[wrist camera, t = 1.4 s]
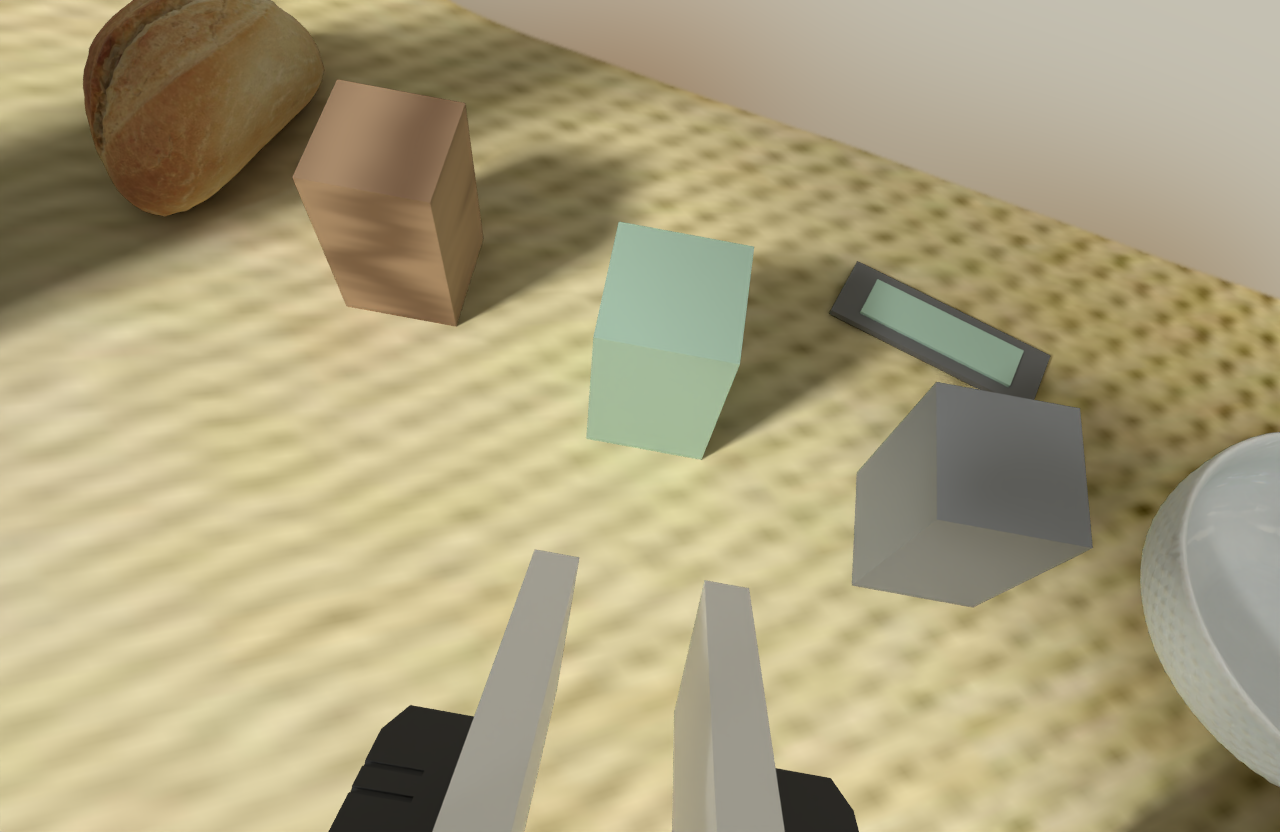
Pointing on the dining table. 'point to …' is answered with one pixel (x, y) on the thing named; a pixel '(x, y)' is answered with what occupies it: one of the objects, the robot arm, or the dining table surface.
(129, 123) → the bread roll
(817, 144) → the dining table surface
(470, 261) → the walnut block
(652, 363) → the sage block
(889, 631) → the dining table surface
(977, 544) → the charcoal block
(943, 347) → the card
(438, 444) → the dining table surface
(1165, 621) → the cereal bowl
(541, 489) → the dining table surface
